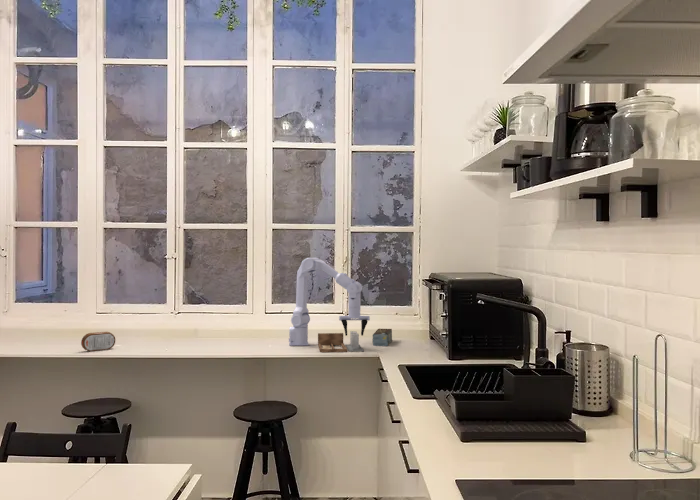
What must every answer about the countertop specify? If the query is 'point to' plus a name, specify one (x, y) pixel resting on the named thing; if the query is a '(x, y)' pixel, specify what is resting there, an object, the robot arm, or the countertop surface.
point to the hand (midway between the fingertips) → (354, 335)
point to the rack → (331, 342)
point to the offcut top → (326, 346)
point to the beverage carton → (382, 337)
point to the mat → (352, 349)
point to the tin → (98, 341)
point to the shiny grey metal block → (354, 340)
